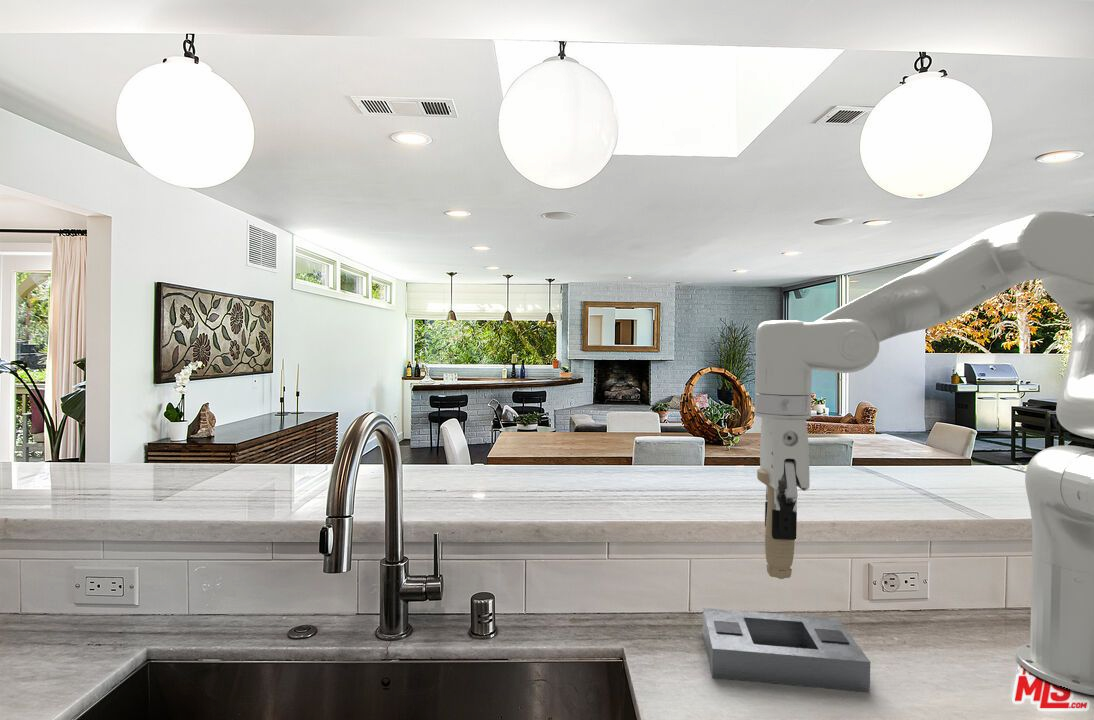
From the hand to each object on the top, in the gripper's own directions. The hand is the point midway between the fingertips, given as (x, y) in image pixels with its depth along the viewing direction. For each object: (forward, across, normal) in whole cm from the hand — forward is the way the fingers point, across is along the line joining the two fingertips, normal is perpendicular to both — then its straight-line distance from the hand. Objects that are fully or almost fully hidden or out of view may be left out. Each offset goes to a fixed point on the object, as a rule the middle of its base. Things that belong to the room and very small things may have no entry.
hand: (780, 532), depth 86 cm
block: (+18, 0, 0) cm, 18 cm away
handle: (+6, 0, 0) cm, 6 cm away
